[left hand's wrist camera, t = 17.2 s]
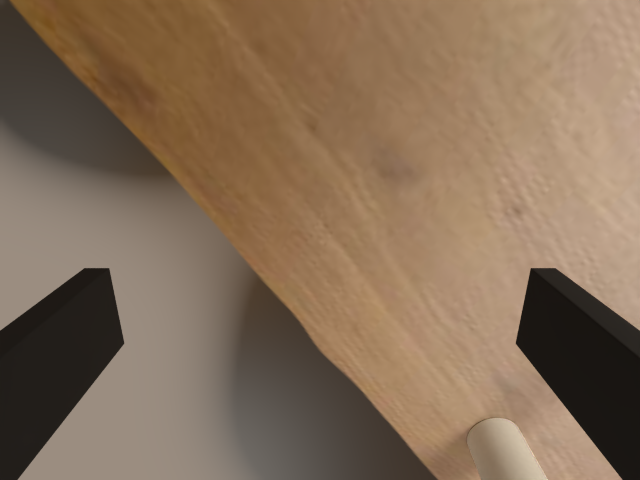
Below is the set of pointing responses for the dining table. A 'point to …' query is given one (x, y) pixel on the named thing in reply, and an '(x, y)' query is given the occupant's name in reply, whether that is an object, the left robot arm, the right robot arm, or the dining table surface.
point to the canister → (502, 452)
